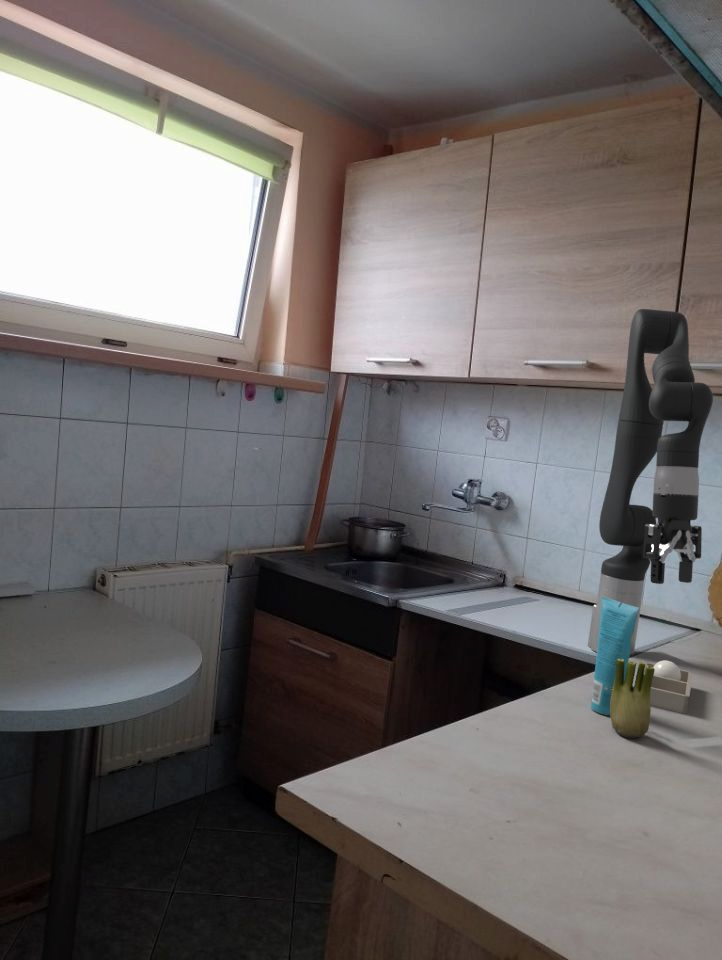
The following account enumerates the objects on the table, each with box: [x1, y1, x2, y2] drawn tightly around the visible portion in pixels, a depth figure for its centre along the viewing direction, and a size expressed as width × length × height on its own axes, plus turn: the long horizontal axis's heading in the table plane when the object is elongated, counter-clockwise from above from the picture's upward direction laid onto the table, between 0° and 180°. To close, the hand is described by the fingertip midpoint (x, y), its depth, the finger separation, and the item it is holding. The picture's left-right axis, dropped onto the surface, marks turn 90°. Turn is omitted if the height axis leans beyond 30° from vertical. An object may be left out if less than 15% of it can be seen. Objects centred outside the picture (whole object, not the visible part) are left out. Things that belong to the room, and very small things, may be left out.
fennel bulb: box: [609, 659, 655, 739], centre depth 121 cm, size 6×5×12 cm
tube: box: [590, 597, 639, 716], centre depth 130 cm, size 7×5×19 cm, turn 39°
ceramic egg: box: [653, 660, 681, 681], centre depth 144 cm, size 5×5×5 cm
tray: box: [643, 661, 693, 715], centre depth 140 cm, size 17×9×4 cm, turn 154°
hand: (671, 582), depth 136 cm, fingers open, 8 cm apart
